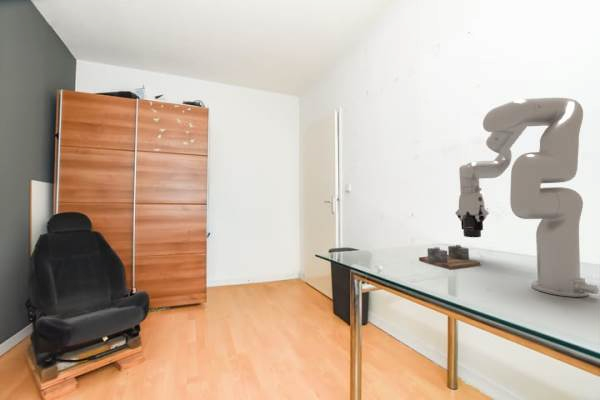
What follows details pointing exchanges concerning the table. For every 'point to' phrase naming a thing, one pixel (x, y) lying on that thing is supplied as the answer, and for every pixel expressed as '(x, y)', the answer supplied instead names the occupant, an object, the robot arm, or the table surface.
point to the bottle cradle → (450, 257)
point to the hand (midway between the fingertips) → (472, 229)
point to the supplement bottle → (470, 226)
